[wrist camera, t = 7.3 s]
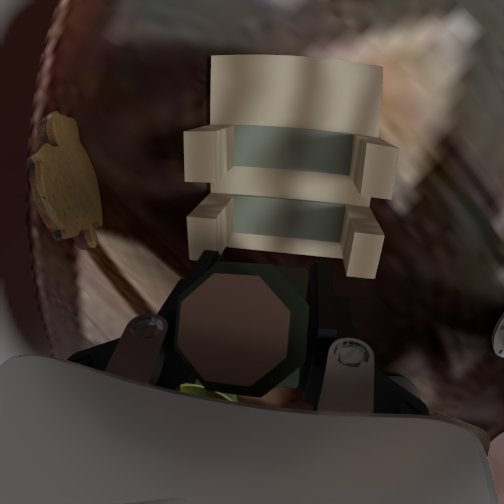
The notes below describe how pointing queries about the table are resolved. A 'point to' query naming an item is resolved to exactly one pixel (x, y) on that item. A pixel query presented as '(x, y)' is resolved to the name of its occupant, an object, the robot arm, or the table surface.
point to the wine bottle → (244, 327)
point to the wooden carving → (65, 182)
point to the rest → (291, 159)
